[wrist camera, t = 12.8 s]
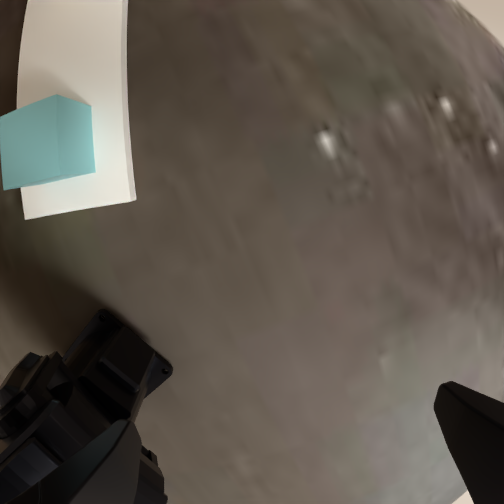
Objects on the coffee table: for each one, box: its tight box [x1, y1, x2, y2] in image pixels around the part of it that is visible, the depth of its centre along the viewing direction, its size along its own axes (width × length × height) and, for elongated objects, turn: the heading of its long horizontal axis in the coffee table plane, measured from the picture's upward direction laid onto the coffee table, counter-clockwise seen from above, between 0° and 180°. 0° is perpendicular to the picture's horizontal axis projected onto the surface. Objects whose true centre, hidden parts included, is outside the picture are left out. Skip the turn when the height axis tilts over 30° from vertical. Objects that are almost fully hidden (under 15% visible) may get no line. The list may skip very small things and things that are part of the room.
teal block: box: [0, 94, 96, 190], centre depth 14 cm, size 4×4×4 cm
